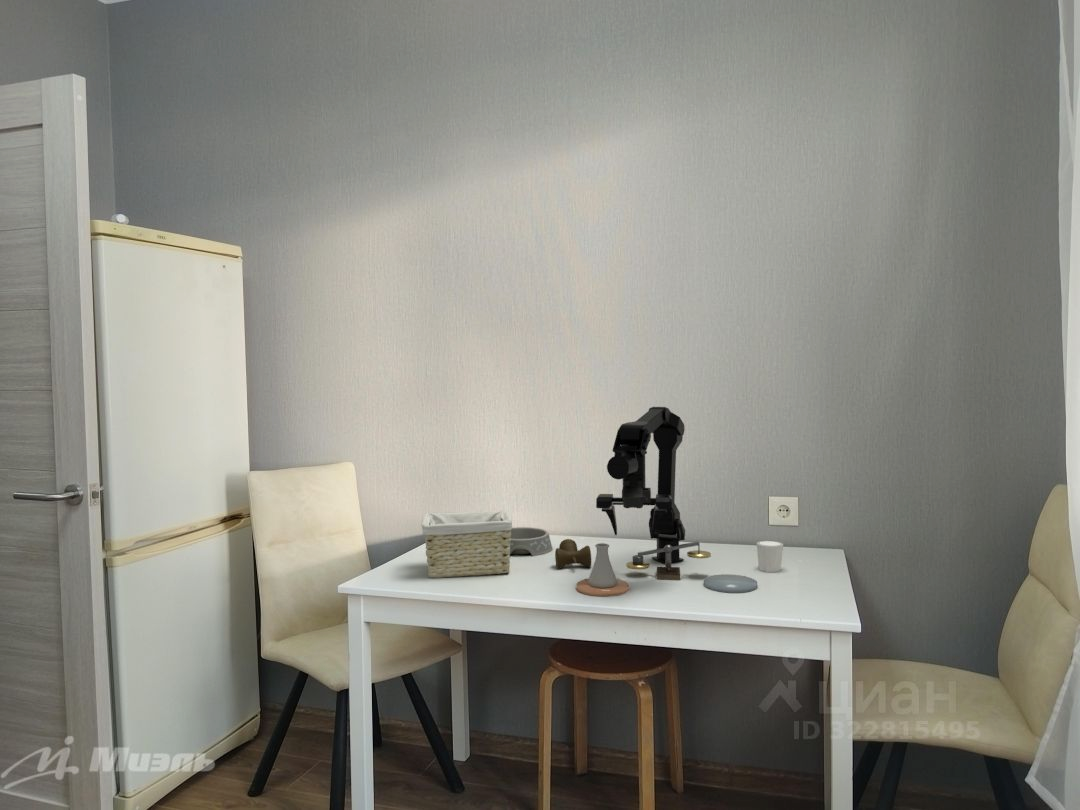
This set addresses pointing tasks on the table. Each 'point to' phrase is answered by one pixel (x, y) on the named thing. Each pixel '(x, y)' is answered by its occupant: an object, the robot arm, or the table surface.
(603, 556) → the flask
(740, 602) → the table surface
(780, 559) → the white cup
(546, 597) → the table surface
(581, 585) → the terracotta dish
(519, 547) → the dog bowl
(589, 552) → the kendama
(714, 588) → the slate dish
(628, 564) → the balance
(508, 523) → the storage basket
